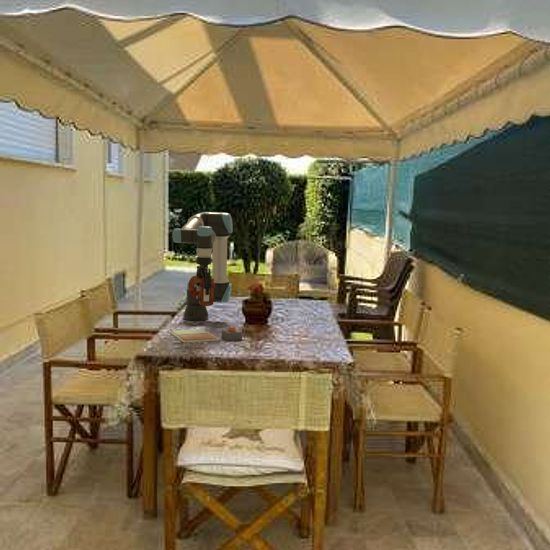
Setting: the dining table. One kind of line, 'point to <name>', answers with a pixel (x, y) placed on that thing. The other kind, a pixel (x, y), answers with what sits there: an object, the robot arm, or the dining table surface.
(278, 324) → the dining table surface
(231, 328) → the button
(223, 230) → the robot arm
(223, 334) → the button base
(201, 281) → the mug
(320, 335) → the dining table surface
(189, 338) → the picture board
